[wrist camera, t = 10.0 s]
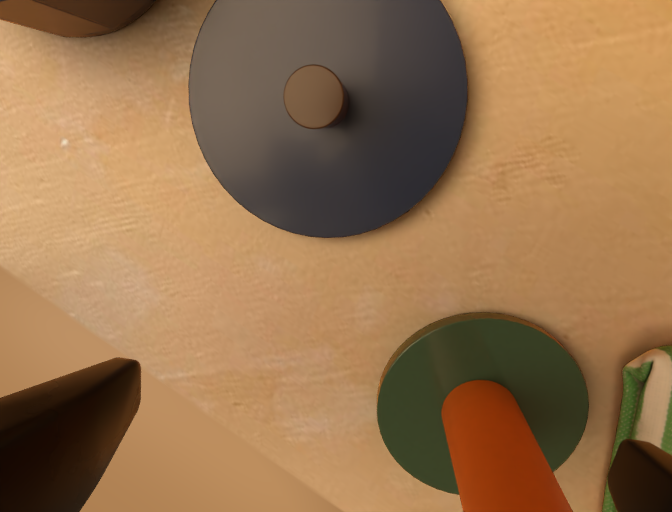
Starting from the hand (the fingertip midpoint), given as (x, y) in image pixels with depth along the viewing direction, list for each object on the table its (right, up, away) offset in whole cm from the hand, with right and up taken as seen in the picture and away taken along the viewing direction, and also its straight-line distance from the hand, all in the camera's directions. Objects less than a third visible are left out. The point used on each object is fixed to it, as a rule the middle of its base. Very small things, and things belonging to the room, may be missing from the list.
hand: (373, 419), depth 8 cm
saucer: (+6, -4, +14) cm, 16 cm away
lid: (-1, +9, +10) cm, 14 cm away
